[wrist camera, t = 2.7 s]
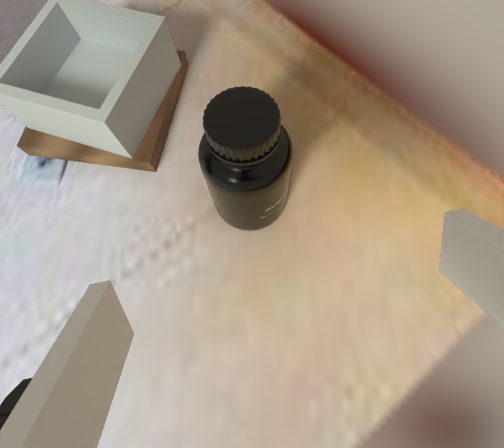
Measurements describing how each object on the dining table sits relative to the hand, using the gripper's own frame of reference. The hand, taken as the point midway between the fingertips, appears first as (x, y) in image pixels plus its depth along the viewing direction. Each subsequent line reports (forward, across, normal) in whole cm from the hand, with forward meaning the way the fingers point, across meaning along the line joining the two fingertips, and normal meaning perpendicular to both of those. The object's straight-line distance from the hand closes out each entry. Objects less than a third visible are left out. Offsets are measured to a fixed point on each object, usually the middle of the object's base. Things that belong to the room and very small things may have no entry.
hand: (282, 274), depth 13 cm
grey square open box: (+27, -13, +8) cm, 31 cm away
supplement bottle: (+18, 0, -4) cm, 19 cm away
